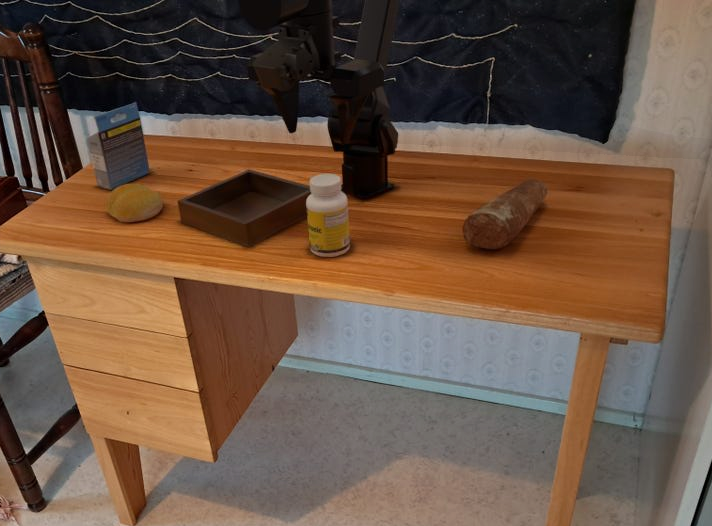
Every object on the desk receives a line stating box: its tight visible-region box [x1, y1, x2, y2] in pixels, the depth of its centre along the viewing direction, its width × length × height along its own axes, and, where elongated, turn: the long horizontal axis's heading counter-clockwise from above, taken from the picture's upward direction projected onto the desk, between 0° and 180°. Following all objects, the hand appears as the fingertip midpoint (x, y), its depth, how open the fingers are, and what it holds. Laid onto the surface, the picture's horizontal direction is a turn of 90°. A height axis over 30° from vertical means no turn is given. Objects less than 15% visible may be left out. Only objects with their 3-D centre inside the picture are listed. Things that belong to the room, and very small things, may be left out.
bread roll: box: [104, 183, 164, 223], centre depth 113 cm, size 8×9×4 cm
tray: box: [177, 168, 312, 248], centre depth 109 cm, size 15×15×4 cm
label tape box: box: [86, 101, 151, 191], centre depth 123 cm, size 9×4×12 cm, turn 141°
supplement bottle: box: [306, 173, 351, 258], centre depth 96 cm, size 5×5×10 cm
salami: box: [462, 178, 548, 250], centre depth 98 cm, size 6×19×6 cm, turn 144°
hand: (318, 137), depth 99 cm, fingers open, 9 cm apart
